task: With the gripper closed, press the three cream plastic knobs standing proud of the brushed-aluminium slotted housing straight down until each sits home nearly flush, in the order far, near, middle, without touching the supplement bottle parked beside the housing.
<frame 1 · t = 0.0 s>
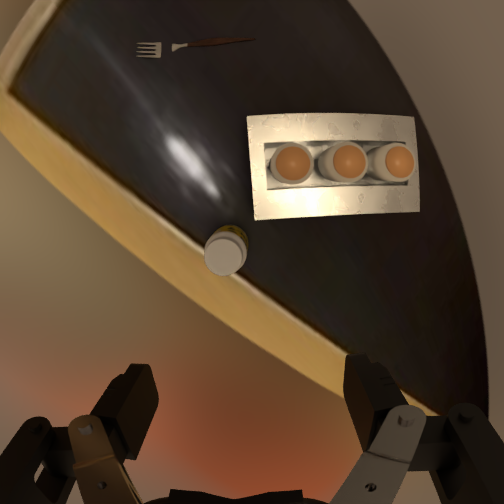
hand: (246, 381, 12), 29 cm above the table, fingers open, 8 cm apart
knob a: (289, 164, 31), point 7 cm above the table, slide at 0.0 cm
knob c: (389, 163, 30), point 7 cm above the table, slide at 0.0 cm
knob b: (341, 163, 31), point 7 cm above the table, slide at 0.0 cm
supplement bottle: (230, 241, 41), on the table
fork: (196, 45, 35), on the table
housing: (326, 165, 38), on the table
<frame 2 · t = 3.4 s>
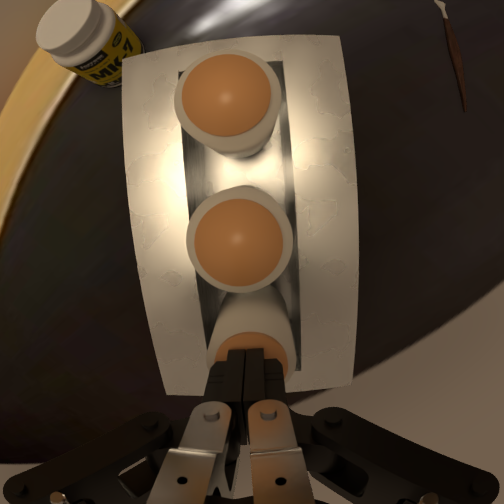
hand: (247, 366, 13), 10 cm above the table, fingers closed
knob a: (232, 110, 13), point 7 cm above the table, slide at 0.0 cm
knob c: (252, 335, 16), point 7 cm above the table, slide at 0.4 cm, touching gripper
knob b: (242, 230, 14), point 7 cm above the table, slide at 0.0 cm
supplement bottle: (119, 61, 19), on the table
fork: (445, 31, 18), on the table
housing: (248, 213, 21), on the table
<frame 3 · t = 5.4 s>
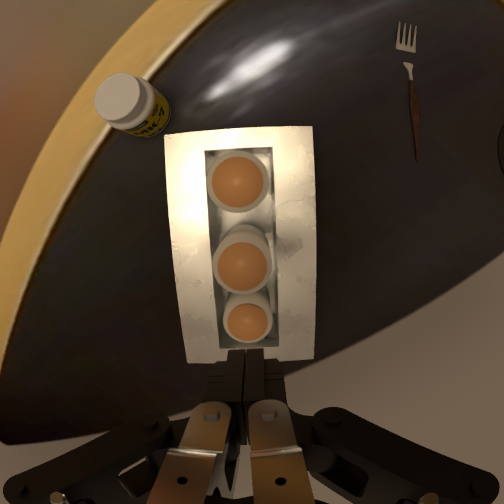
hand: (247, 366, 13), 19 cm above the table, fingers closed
knob a: (239, 181, 22), point 7 cm above the table, slide at 0.0 cm
knob c: (248, 308, 27), point 4 cm above the table, slide at 3.0 cm
knob b: (243, 256, 23), point 7 cm above the table, slide at 0.0 cm
supplement bottle: (150, 115, 28), on the table
fork: (409, 90, 27), on the table
housing: (246, 238, 30), on the table
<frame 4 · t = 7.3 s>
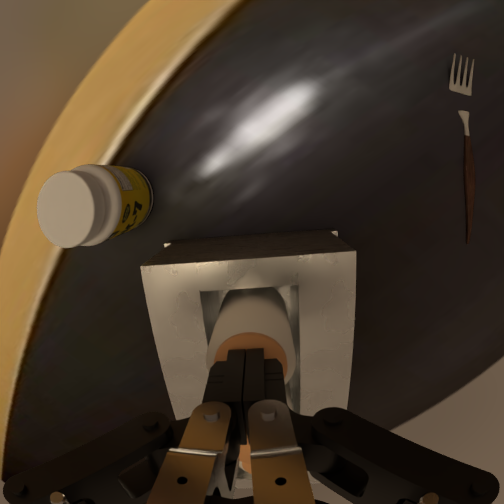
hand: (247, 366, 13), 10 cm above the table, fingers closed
knob a: (252, 336, 16), point 7 cm above the table, slide at 0.0 cm, touching gripper
knob c: (264, 436, 21), point 4 cm above the table, slide at 3.0 cm
knob b: (259, 413, 17), point 7 cm above the table, slide at 0.0 cm
supplement bottle: (126, 198, 22), on the table
fork: (463, 149, 21), on the table
housing: (259, 352, 24), on the table
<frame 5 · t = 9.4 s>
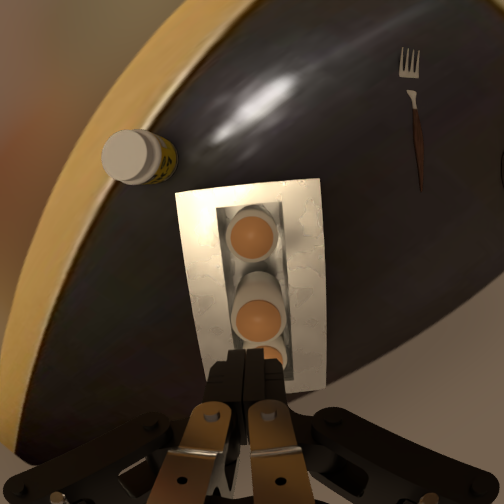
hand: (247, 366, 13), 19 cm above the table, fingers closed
knob a: (252, 231, 26), point 4 cm above the table, slide at 3.0 cm
knob c: (264, 346, 29), point 4 cm above the table, slide at 3.0 cm
knob b: (258, 306, 25), point 7 cm above the table, slide at 0.0 cm
supplement bottle: (157, 160, 30), on the table
fork: (413, 119, 28), on the table
housing: (258, 277, 32), on the table
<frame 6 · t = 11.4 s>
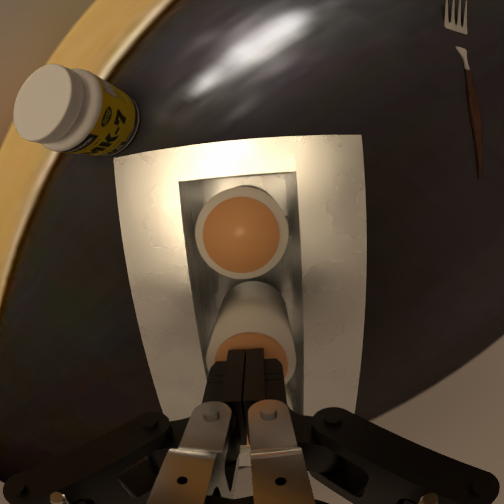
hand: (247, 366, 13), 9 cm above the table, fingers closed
knob a: (244, 225, 16), point 4 cm above the table, slide at 3.0 cm
knob c: (259, 399, 18), point 4 cm above the table, slide at 3.0 cm
knob b: (252, 335, 16), point 6 cm above the table, slide at 1.6 cm, touching gripper
supplement bottle: (112, 124, 19), on the table
fork: (465, 84, 18), on the table
housing: (254, 295, 21), on the table
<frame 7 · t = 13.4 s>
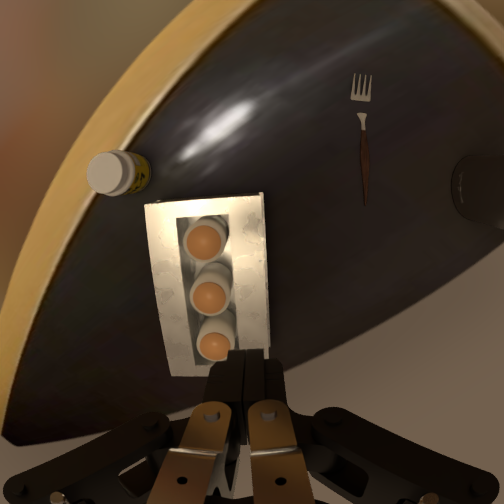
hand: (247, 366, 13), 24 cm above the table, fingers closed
knob a: (207, 237, 32), point 4 cm above the table, slide at 3.0 cm
knob c: (217, 334, 34), point 4 cm above the table, slide at 3.0 cm
knob b: (212, 288, 33), point 4 cm above the table, slide at 3.0 cm
supplement bottle: (134, 173, 34), on the table
fork: (361, 139, 34), on the table
housing: (216, 275, 37), on the table
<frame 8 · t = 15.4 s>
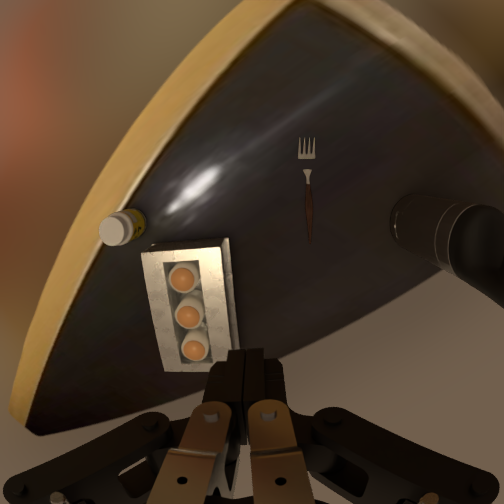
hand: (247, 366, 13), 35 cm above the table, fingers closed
knob a: (187, 273, 44), point 4 cm above the table, slide at 3.0 cm
knob c: (197, 341, 46), point 4 cm above the table, slide at 3.0 cm
knob b: (192, 309, 45), point 4 cm above the table, slide at 3.0 cm
supplement bottle: (134, 222, 47), on the table
fork: (307, 191, 46), on the table
housing: (197, 298, 49), on the table
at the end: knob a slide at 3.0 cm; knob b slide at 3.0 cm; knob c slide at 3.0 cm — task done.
